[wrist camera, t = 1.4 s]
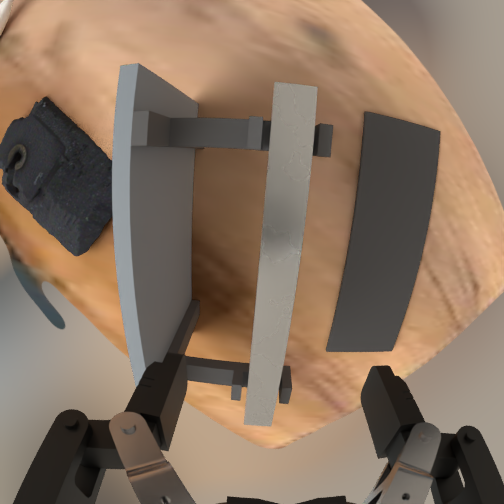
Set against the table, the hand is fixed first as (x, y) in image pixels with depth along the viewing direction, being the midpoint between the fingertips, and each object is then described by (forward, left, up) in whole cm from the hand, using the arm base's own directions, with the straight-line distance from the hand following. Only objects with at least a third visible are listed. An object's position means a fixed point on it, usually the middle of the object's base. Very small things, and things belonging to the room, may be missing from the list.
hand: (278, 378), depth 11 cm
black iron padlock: (-6, -29, -23) cm, 37 cm away
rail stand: (0, -4, -22) cm, 23 cm away
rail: (0, 0, -10) cm, 10 cm away
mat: (0, +14, -22) cm, 26 cm away
